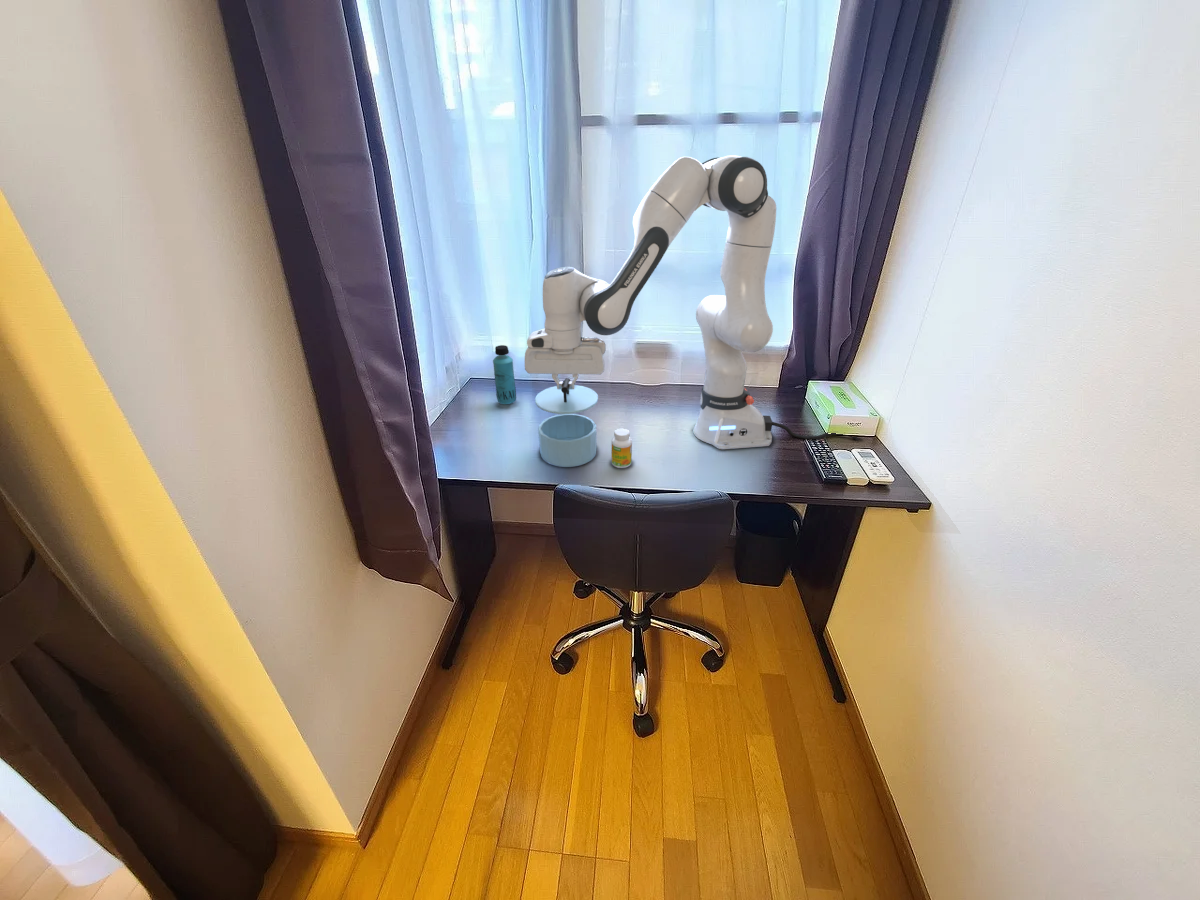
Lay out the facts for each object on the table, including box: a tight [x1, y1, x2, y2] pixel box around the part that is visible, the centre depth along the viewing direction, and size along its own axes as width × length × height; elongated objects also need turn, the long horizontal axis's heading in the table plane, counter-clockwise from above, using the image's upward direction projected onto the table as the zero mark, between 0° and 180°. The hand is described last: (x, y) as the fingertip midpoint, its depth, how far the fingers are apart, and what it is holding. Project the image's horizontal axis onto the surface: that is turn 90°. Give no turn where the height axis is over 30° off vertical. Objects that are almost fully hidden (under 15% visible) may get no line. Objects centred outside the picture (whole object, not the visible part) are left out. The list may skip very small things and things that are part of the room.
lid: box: [534, 377, 599, 415], centre depth 132 cm, size 17×17×6 cm
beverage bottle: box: [492, 344, 517, 405], centre depth 162 cm, size 6×7×20 cm
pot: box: [537, 413, 598, 468], centre depth 139 cm, size 16×16×8 cm
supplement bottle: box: [610, 427, 633, 469], centre depth 134 cm, size 5×5×10 cm
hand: (566, 388), depth 131 cm, fingers closed on lid
